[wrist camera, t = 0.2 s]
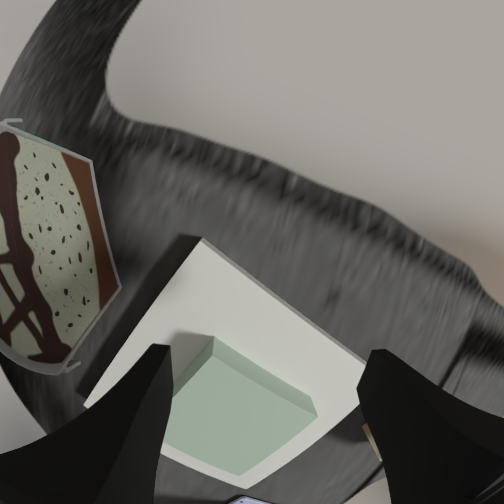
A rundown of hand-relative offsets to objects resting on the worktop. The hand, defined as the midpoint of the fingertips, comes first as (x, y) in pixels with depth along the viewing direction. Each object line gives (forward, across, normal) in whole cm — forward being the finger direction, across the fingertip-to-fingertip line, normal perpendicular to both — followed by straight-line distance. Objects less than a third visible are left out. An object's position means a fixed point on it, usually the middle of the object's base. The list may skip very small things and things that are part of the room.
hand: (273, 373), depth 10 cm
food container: (+11, +13, -1) cm, 17 cm away
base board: (+9, +1, +11) cm, 14 cm away
